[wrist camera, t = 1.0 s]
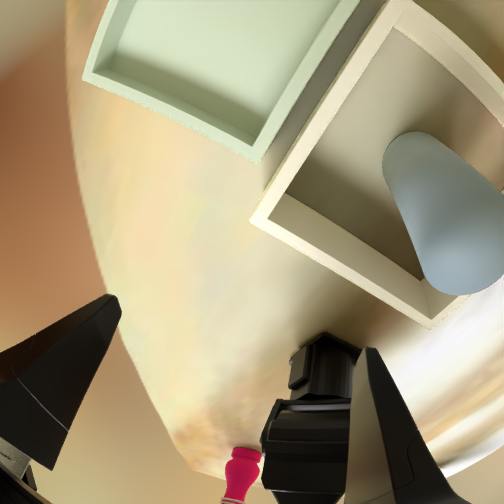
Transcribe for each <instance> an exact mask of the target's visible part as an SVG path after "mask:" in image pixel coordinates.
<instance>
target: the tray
mask: <svg viewBox="0 0 504 504" xmlns="http://www.w3.org/2000/svg"><path fill="white" fill-rule="evenodd" d="M360 2H361V0H109V3H108V5H107V7H106V10H105V12H104V15H103V17H102V20H101V22H100V25H99V27H98V30H97V33H96V35H95V38H94V41H93V44H92V47H91V50H90V53H89V56H88V59H87V63H86V66H85V69H84V73H83V76H82V80H83V81H86V82H88V83H91V84H93V85H96V86H98V87H100V88H103V89H105V90H108V91H110V92H112V93H115V94H117V95H119V96H122V97H124V98H126V99H128V100H131V101H133V102H135V103H137V104H140V105H142V106H144V107H146V108H148V109H151V110H153V111H155V112H157V113H159V114H161V115H163V116H165V117H167V118H170V119H172V120H174V121H176V122H178V123H180V124H182V125H184V126H186V127H188V128H190V129H192V130H194V131H196V132H198V133H200V134H202V135H204V136H206V137H208V138H209V139H211V140H213V141H215V142H217V143H219V144H221V145H223V146H225V147H227V148H228V149H230V150H232V151H234V152H236V153H238V154H239V155H241V156H243V157H245V158H247V159H248V160H250V161H252V162H254V163H256V164H257V165H258V164H259V163H260V161H261V160H262V158H263V157H264V155H265V154H266V152H267V151H268V149H269V147H270V146H271V144H272V142H273V141H274V139H275V137H276V136H277V134H278V132H279V130H280V129H281V127H282V125H283V124H284V122H285V120H286V119H287V117H288V115H289V114H290V112H291V110H292V109H293V107H294V105H295V104H296V102H297V101H298V99H299V97H300V96H301V94H302V92H303V91H304V89H305V87H306V86H307V84H308V83H309V81H310V79H311V78H312V76H313V75H314V73H315V71H316V70H317V68H318V67H319V65H320V63H321V62H322V60H323V59H324V57H325V55H326V54H327V52H328V51H329V49H330V48H331V46H332V44H333V43H334V41H335V40H336V38H337V37H338V35H339V34H340V32H341V31H342V29H343V28H344V26H345V24H346V23H347V21H348V20H349V18H350V17H351V15H352V14H353V12H354V11H355V9H356V8H357V6H358V5H359V3H360Z"/></svg>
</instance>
